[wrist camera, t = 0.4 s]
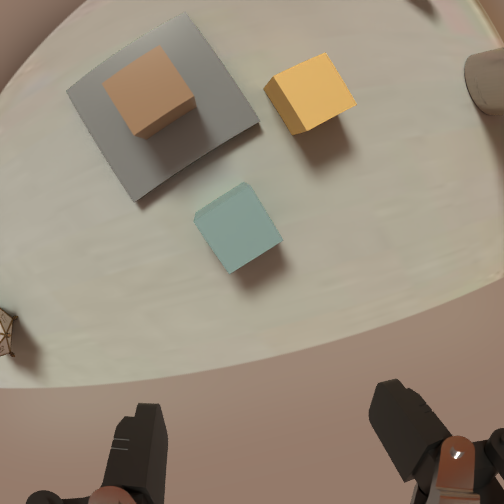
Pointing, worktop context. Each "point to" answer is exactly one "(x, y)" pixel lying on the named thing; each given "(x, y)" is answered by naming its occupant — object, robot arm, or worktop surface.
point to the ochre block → (309, 94)
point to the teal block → (237, 227)
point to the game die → (6, 333)
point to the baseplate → (180, 134)
